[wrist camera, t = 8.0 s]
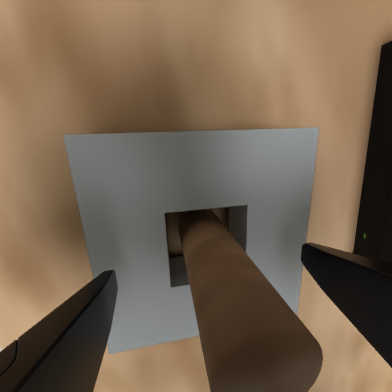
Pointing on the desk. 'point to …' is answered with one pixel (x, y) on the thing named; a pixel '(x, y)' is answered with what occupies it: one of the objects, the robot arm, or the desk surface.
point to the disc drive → (378, 172)
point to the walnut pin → (243, 316)
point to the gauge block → (184, 201)
